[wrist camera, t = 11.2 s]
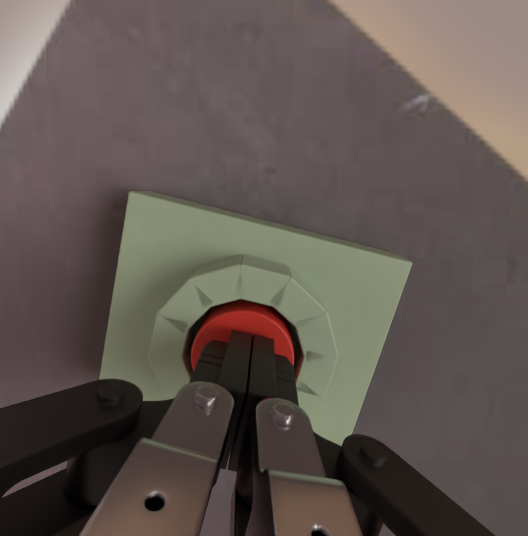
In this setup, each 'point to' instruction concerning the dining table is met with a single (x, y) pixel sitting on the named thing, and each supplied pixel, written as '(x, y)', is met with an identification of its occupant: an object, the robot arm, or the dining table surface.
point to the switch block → (252, 289)
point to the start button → (244, 326)
